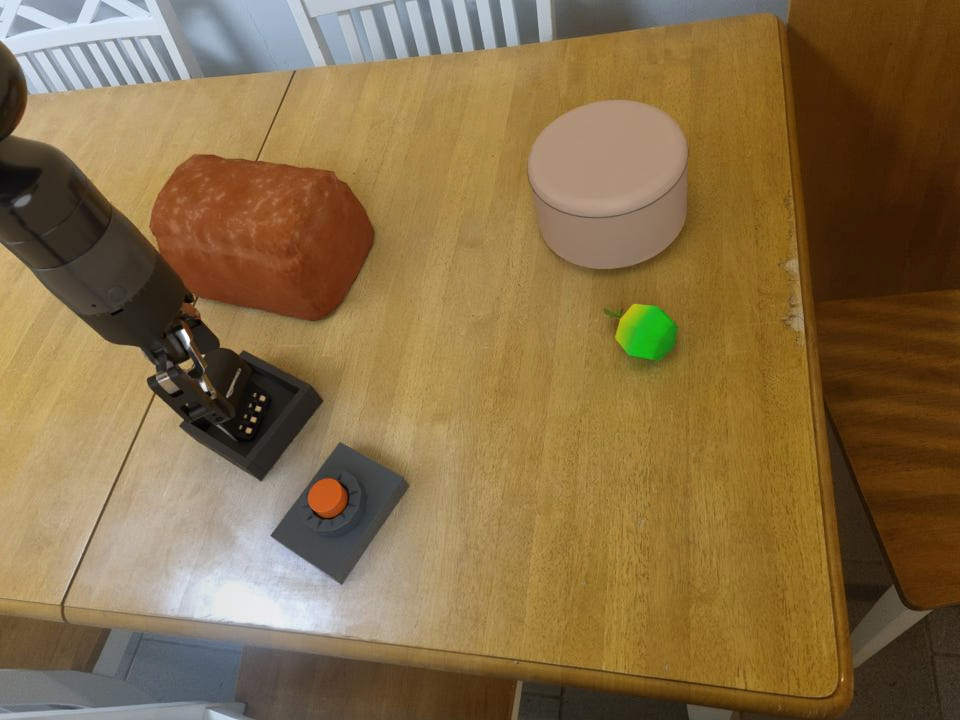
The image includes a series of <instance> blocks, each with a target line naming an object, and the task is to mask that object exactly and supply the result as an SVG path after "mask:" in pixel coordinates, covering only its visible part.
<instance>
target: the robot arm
mask: <svg viewBox="0 0 960 720" xmlns="http://www.w3.org/2000/svg"><path fill="white" fill-rule="evenodd" d="M28 92H29V91H28V84H27V79H26V76H25V73H24V70H23V68H22V65H21V64H20V62H19V60H18V58H17V57H16V56H15V54H14V53H13V52H12V50H11V49H10V48H9V47H8V45H6V44H5V43H4V42H3V41H2V40H1V39H0V244H1V245H2V246H3V247H4V248H6V249H7V250H8V251H9V252H10V253H11V254H12V255H14V257H16V258H17V259H18V260H19V261H21V263H23V264H24V265H25V266H26V267H27V268H28V270H29V271H30V272H32V274H33V275H34V276H35V277H36V278H37V280H38V281H39V282H40V283H41V285H43V287H45V288H46V289H47V290H48V291H49V292H50V293H51V294H52V295H53V296H54V297H56V298H57V299H58V300H59V301H60V302H61V303H63V304H64V305H65V306H66V307H67V308H68V309H69V310H70V311H71V312H72V313H74V314H75V315H76V316H77V317H79V319H80V320H81V321H83V322H84V323H85V324H86V325H87V326H89V327H90V329H92V330H93V331H94V332H96V333H97V335H99V336H100V337H101V338H102V339H103V340H105V341H107V342H108V343H111V344H113V345H119V346H128V347H136V348H138V349H139V350H140V352H141V354H142V355H143V357H144V358H145V359H146V360H147V361H149V362H150V363H151V364H152V365H153V368H154V369H155V374H153V375H150V376H148V377H147V378H146V383H147V386H148V387H149V389H150V390H151V391H152V392H153V393H154V394H155V395H156V396H157V397H158V398H160V400H162V402H164V403H165V404H166V405H167V406H168V407H169V408H171V410H173V411H174V412H175V413H176V414H177V415H178V416H179V417H180V418H181V419H182V420H185V421H186V422H187V423H191V422H193V421H195V420H196V419H198V418H200V417H203V416H204V417H205V418H206V419H208V420H209V421H210V422H211V423H212V424H214V425H219V424H221V423H223V422H225V421H227V420H229V419H231V418H233V417H235V415H236V414H235V410H234V407H233V406H232V405H231V404H230V403H229V402H228V401H227V400H226V399H225V398H224V397H223V396H222V395H221V394H220V393H219V392H218V391H217V390H216V389H214V388H213V386H212V384H211V383H210V381H209V379H208V378H207V376H206V374H205V371H206V370H207V364H206V362H205V361H204V359H203V357H202V355H204V354H207V353H209V352H211V351H214V350H216V349H218V348H219V347H220V348H221V342H220V339H219V337H218V336H217V335H216V334H215V333H214V332H213V331H212V330H211V329H210V328H209V326H208V325H206V323H205V322H204V320H202V316H201V312H200V311H199V310H198V309H197V307H194V306H193V303H195V295H194V294H193V293H191V292H190V291H189V290H188V289H187V288H186V287H185V286H184V283H183V281H182V279H181V277H180V276H179V275H178V274H177V272H176V271H175V270H174V269H173V268H172V267H171V266H170V265H169V263H168V262H167V261H166V260H165V259H164V258H163V257H162V255H161V254H160V252H159V250H157V249H156V247H155V246H154V245H153V244H152V243H151V242H150V240H149V239H148V238H147V237H146V236H145V235H144V234H143V233H142V231H141V230H140V229H139V228H138V227H137V226H136V225H135V224H134V223H133V222H132V221H131V220H130V218H129V217H127V216H126V215H125V214H124V213H123V212H122V211H120V210H119V209H118V208H117V207H116V206H115V205H113V203H111V202H110V201H109V200H108V199H107V197H106V196H105V195H104V194H103V193H102V191H101V190H100V189H99V188H98V187H97V186H96V185H95V184H94V183H93V182H92V181H91V179H90V178H89V177H88V176H87V175H86V174H85V173H84V171H83V170H81V168H80V167H79V166H78V164H76V163H75V162H74V160H72V159H71V158H70V157H69V156H68V155H67V154H66V153H64V152H63V151H62V150H61V149H60V148H58V147H56V146H54V145H52V144H50V143H46V142H44V141H40V140H35V139H31V138H26V137H22V136H17V135H14V134H13V133H14V132H15V130H17V128H18V126H19V125H20V124H21V121H22V120H23V118H24V115H25V113H26V109H27V104H28V95H29V93H28ZM189 360H191V361H192V364H193V363H194V367H192V366H191V367H189V368H187V369H186V368H182V367H181V366H180V365H181V364H183V363H185V362H187V361H189ZM193 379H197V380H198V382H199V384H200V385H201V387H202V389H201V388H200V387H199V385H198V384H197V383H196V382H195V381H194V380H193Z"/></svg>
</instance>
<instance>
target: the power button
mask: <svg viewBox="0 0 960 720" xmlns="http://www.w3.org/2000/svg"><path fill="white" fill-rule="evenodd" d="M347 501H348V495H347V492H346V490H345V489H344V487H343V486H342V485H341V484H340V483H339V482H338V481H336V480H334V479H331V478H326V479H322V480H320V481H318V482H317V483H315V484H314V485H313V487H312V488H311V490H310V492H309V495H308V503H309V505H310V507H311V508H312V509H313V510H314V511H315V512H316V513H317V514H318V515H320V516H321V517H324V518H332V517H335V516H337V515H338V514H340V513H341V512H342V511H343V510H344V508H345V507H346V505H347Z"/></svg>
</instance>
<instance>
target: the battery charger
mask: <svg viewBox="0 0 960 720" xmlns="http://www.w3.org/2000/svg"><path fill="white" fill-rule="evenodd" d="M202 357H203V359H204V361H205V362H206V364H207V370H206V371H205V374H206V376H207V378H208V379H209V381H210V383H211V384H212V386H213V388H214V389H216V390H217V391H218V392H219V393H220V394H221V395H222V396H223V397H224V398H225V399H226V400H227V401H228V402H229V403H230V404H231V405H232V406H233V407H234V410H235V414H236V415H235V417H233V418H231V419H229V420H227V421H225V422H223V423H221V424H219V425H215V426H216V427H218V428H219V429H220V430H221V431H222V432H223V433H225V434H226V435H227V436H228V437H229V438H230V439H231V440H233V441H235V442H238V441H241V442H246V441H250V440H252V439H254V438H255V436H256V435H257V433H258V430H259V428H260V426H261V424H262V421H263V419H264V417H265V414H266V412H267V409H268V407H269V404H270V401H271V397H270V396H269V394H268V393H267V392H266V391H264V390H263V389H262V388H260V387H259V386H258V385H256V384H255V383H254V382H253V381H252V380H251V379H250V376H251V374H252V369H251V368H250V367H249V365H248V364H247V363H246V362H245V361H244V360H243V359H242V358H241V357H240V356H239V354H238V353H237V352H236V351H234V350H232V349H231V348H228V347H227V348H226V347H221V346H220V347H219V348H218V349H216V350H214V351H211V352H209V353H207V354H204V355H202ZM191 367H194V363H193V362H192V365H191ZM193 380H194V381H195V382H196V383H197V384H198V385H199V387H200V388H201V389H202V387H201V385H200V384H199V382H198V380H197V379H193ZM203 417H204V416H203ZM207 420H208V419H207Z"/></svg>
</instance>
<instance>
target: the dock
mask: <svg viewBox="0 0 960 720" xmlns="http://www.w3.org/2000/svg"><path fill="white" fill-rule="evenodd" d="M238 355H239V356H240V357H241V358H242V359H243V360H244V361H245V362H246V363H247V364H248V365H249V367H250V368H251V369H252V374H251V376H250V379H251V380H252V381H253V382H254V383H255V384H256V385H258V386H259V387H260V388H262V389H263V390H264V391H266V392H267V393H268V394H269V396H270V397H271V401H270V404H269V407H268V409H267V412H266V414H265V417H264V419H263V421H262V424H261V426H260V428H259V430H258V433H257V435H256V436H255V438H254V439H252V440H250V441H246V442H241V441H238V442H235V441H233V440H231V439H230V438H229V437H228V436H227V435H226V434H225V433H223V432H222V431H221V430H220V429H219V428H218V427H216V426H215V425H214V424H212V423H211V422H210V421H209V420H207V419H206V418H205V417H200V418H198V419H196V420H195V421H193V422H191V423H187V422H186V421H185V420H184V419H182V421H181V422H180V424H179V425H178V427H179V428H180V429H181V430H182V431H183V432H185V433H186V434H187V435H188V436H190V437H191V438H192V439H193V440H195V441H196V442H198V443H199V444H201V445H202V446H204V447H206V448H208V449H209V450H210V451H212V452H214V453H215V454H217V456H220V457H221V458H223V459H225V460H226V461H227V462H230V463H231V464H233V465H234V466H236V467H237V468H239V469H240V470H242V471H244V472H245V473H247V474H248V475H250V476H251V477H253V478H254V479H256V480H258V481H259V482H262V481H263V480H264V478H265V477H266V476H267V474H269V472H270V471H271V469H272V468H273V467H274V465H275V464H277V462H278V461H279V459H280V458H281V457H282V455H284V453H285V452H286V450H287V448H288V447H289V446H290V445H291V444H292V443H293V441H294V440H295V439H296V437H297V436H298V435H299V434H300V432H301V430H302V429H304V427H305V426H306V425H307V423H308V421H309V420H310V419H311V418H312V416H313V415H314V414H315V412H316V411H318V409H319V407H320V406H321V404H322V403H323V402H324V399H323V398H322V397H321V395H320V394H319V393H318V392H317V390H316V389H315V388H314V387H313V386H312V384H310V383H308V382H306V381H304V380H302V379H300V378H299V377H297V376H294V375H292V374H291V373H288V372H287V371H285V370H283V369H281V368H279V367H277V366H276V365H274V364H271V363H270V362H268V361H265V360H264V359H262V358H259V357H258V356H256V355H254V354H253V353H250V352H248V351H247V350H245V349H242V351H241V352H240V353H239V354H238Z"/></svg>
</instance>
